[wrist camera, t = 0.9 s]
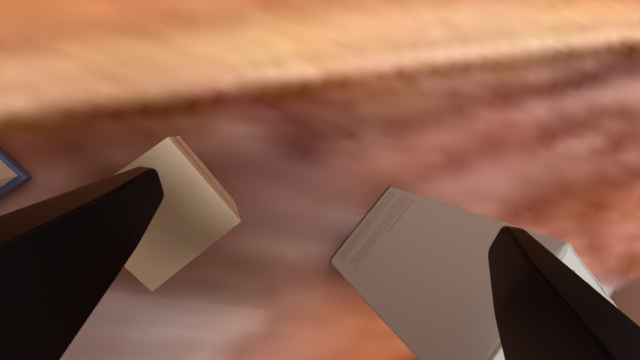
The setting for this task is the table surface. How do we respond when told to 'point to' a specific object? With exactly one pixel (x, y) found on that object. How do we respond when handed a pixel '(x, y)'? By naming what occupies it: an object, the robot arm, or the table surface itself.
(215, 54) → the table surface
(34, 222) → the robot arm
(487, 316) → the supplement box
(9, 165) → the navy book
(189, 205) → the beech block
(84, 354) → the table surface
